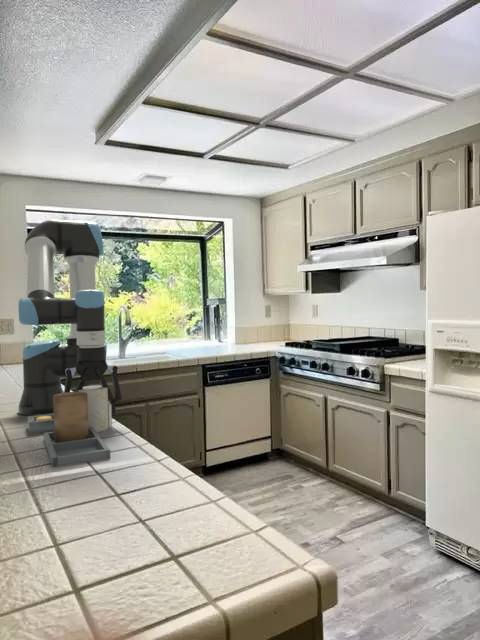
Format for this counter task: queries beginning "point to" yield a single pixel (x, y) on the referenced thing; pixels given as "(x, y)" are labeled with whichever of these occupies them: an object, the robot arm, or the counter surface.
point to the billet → (70, 416)
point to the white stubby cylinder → (97, 407)
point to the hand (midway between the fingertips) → (93, 428)
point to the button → (43, 418)
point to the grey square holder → (40, 424)
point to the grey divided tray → (76, 449)
